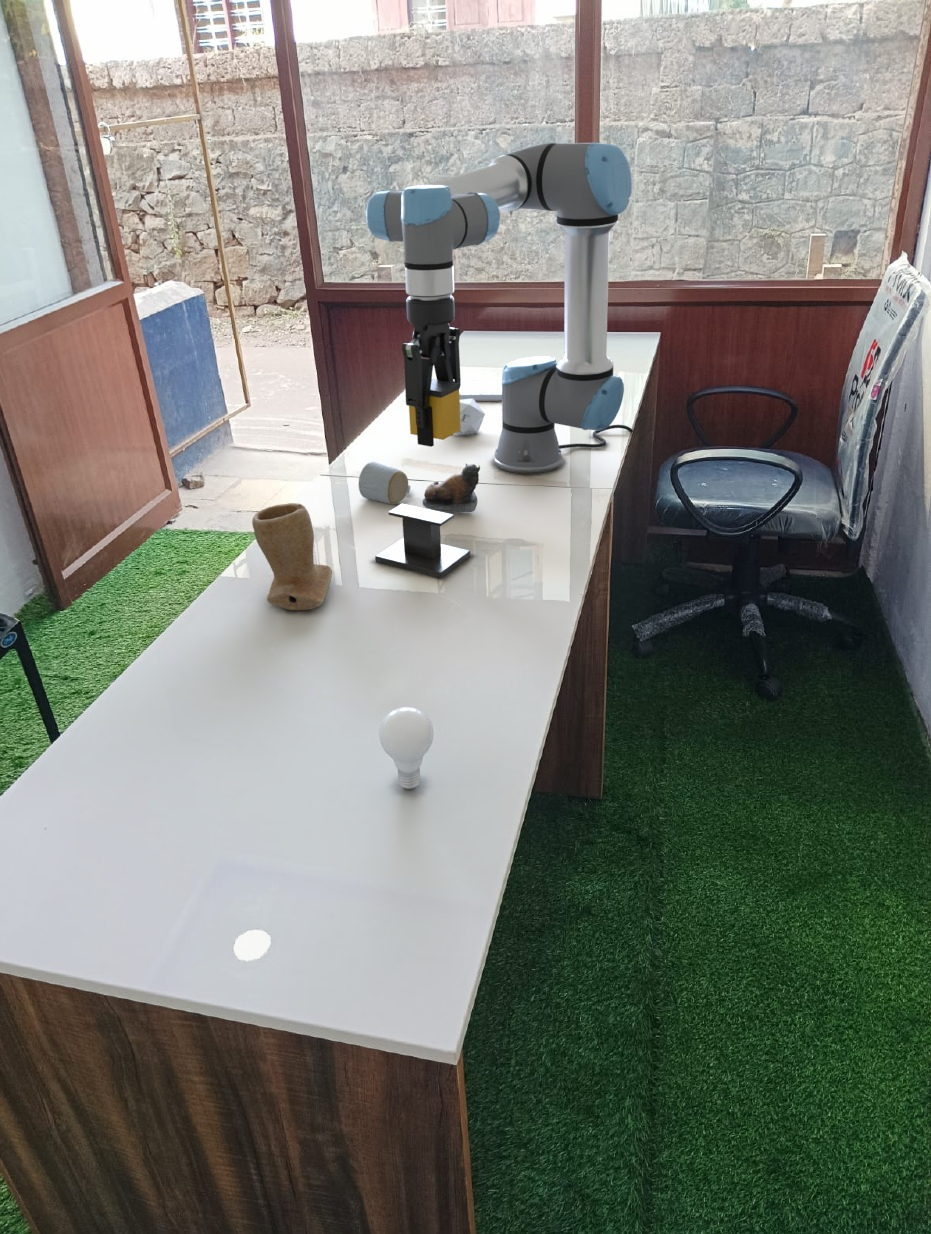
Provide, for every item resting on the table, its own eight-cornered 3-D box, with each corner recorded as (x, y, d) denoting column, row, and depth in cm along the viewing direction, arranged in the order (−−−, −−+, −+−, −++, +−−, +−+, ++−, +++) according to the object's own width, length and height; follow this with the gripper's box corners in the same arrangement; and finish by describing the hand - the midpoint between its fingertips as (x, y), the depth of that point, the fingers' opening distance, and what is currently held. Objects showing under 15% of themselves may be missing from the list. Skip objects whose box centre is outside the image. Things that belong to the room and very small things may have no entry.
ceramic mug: (391, 510, 185) (389, 474, 182) (358, 503, 189) (356, 467, 185) (420, 493, 193) (418, 458, 190) (388, 487, 197) (386, 452, 193)
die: (439, 436, 228) (446, 411, 219) (451, 409, 232) (458, 384, 223) (471, 448, 228) (479, 424, 219) (482, 422, 232) (491, 397, 223)
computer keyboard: (571, 382, 264) (571, 377, 264) (572, 401, 248) (572, 395, 247) (423, 382, 268) (423, 376, 267) (415, 400, 252) (415, 394, 251)
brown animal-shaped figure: (418, 513, 184) (416, 466, 179) (430, 500, 190) (428, 454, 185) (475, 520, 180) (474, 471, 175) (485, 506, 186) (485, 459, 181)
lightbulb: (383, 770, 114) (377, 697, 108) (434, 767, 114) (430, 694, 109) (383, 805, 108) (377, 730, 103) (437, 801, 109) (433, 726, 103)
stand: (406, 541, 173) (403, 496, 168) (470, 556, 166) (469, 510, 162) (375, 561, 165) (371, 515, 161) (441, 578, 159) (439, 531, 154)
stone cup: (271, 573, 162) (259, 493, 155) (337, 572, 162) (329, 493, 154) (250, 615, 149) (237, 531, 142) (323, 615, 149) (313, 530, 141)
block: (428, 424, 157) (426, 378, 153) (460, 430, 154) (459, 383, 150) (410, 434, 153) (407, 386, 149) (443, 440, 150) (441, 391, 146)
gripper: (441, 283, 151) (446, 420, 162) (375, 304, 137) (385, 452, 149) (481, 287, 147) (483, 427, 159) (416, 308, 134) (423, 459, 145)
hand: (435, 439), depth 154 cm, fingers closed on block, 5 cm apart
